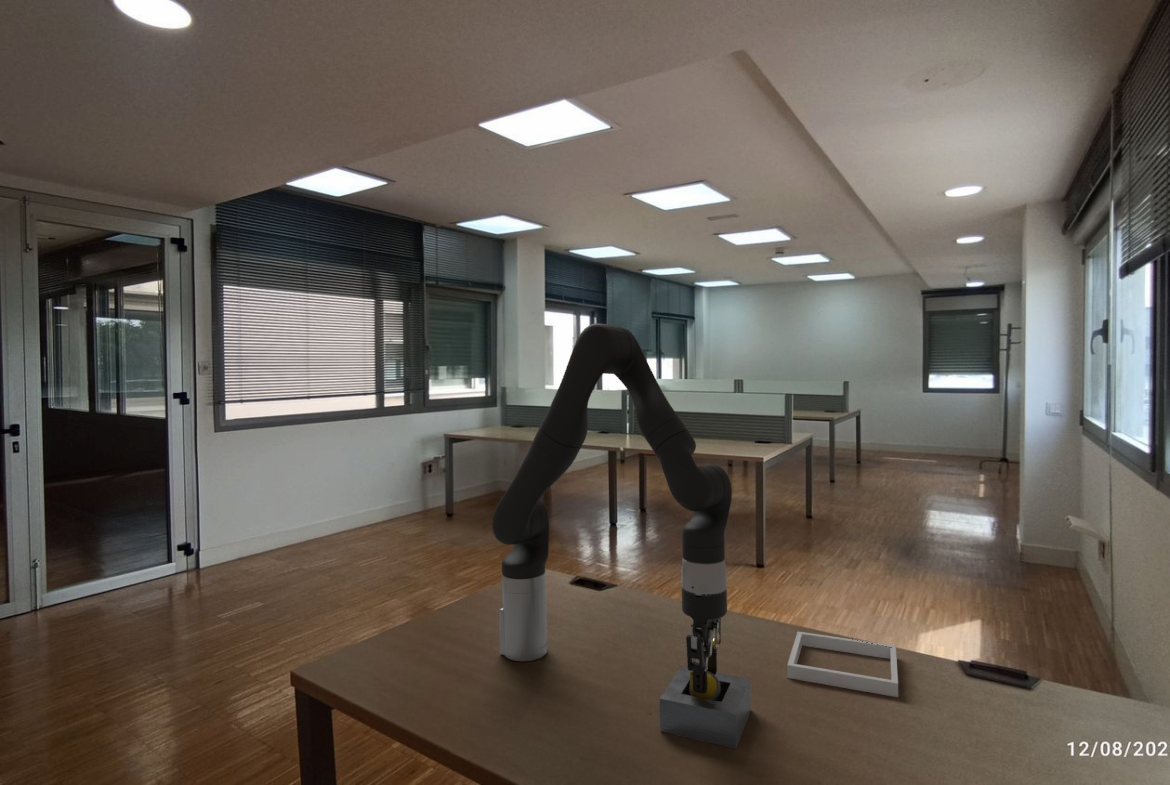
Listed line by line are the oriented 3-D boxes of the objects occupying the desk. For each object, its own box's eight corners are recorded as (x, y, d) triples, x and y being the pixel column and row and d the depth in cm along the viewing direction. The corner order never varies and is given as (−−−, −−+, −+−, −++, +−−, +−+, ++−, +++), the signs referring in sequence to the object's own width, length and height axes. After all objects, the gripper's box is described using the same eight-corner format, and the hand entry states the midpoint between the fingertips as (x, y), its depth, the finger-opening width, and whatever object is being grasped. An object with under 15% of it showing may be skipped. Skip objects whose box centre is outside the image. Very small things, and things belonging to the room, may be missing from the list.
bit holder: (660, 731, 103) (659, 698, 102) (681, 695, 114) (681, 666, 114) (736, 748, 97) (735, 714, 97) (750, 709, 109) (750, 678, 108)
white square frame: (787, 677, 120) (787, 664, 120) (797, 642, 135) (797, 631, 135) (898, 697, 112) (898, 683, 111) (895, 657, 127) (895, 645, 127)
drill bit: (730, 706, 106) (709, 682, 100) (701, 715, 107) (678, 693, 101) (721, 675, 110) (701, 651, 104) (693, 685, 111) (672, 661, 105)
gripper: (693, 569, 113) (695, 660, 114) (669, 595, 100) (671, 698, 101) (735, 574, 110) (736, 668, 110) (716, 601, 97) (717, 708, 97)
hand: (705, 682), depth 105 cm, fingers closed on drill bit, 6 cm apart
